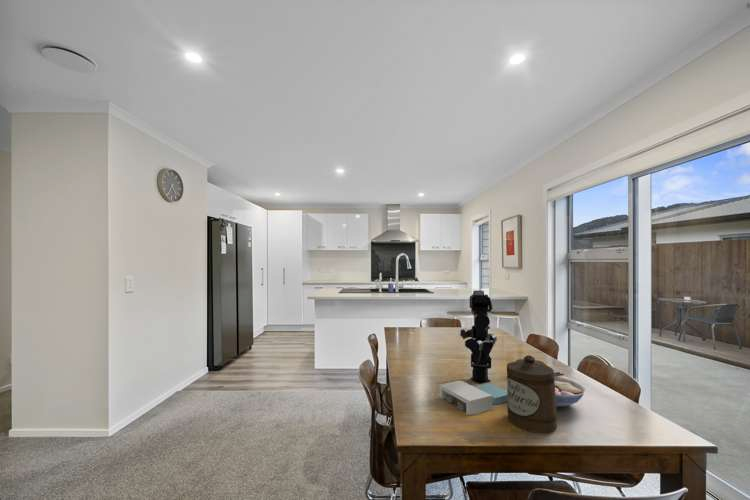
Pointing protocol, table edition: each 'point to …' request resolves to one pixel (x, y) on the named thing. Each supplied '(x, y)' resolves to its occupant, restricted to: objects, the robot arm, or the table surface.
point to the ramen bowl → (567, 390)
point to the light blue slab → (494, 393)
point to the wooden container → (531, 396)
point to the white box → (466, 397)
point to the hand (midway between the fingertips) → (481, 361)
